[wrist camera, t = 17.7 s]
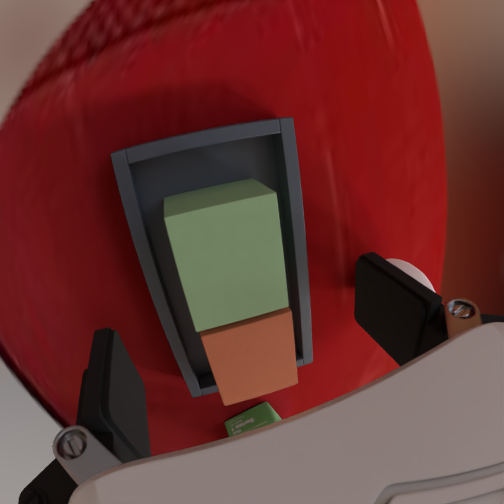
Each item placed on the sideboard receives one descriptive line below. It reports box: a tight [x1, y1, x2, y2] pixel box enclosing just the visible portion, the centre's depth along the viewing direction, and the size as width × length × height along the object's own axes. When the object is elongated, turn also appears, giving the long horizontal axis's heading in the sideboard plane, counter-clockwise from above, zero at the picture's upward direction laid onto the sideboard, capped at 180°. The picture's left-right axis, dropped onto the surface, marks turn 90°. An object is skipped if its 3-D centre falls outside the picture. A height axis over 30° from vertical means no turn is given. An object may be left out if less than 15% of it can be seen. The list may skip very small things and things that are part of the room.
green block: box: [164, 178, 289, 332], centre depth 17 cm, size 5×6×4 cm
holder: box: [111, 117, 313, 398], centre depth 19 cm, size 10×18×2 cm, turn 8°
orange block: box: [199, 307, 298, 406], centre depth 20 cm, size 5×6×4 cm
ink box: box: [225, 402, 282, 437], centre depth 23 cm, size 9×5×12 cm, turn 24°
